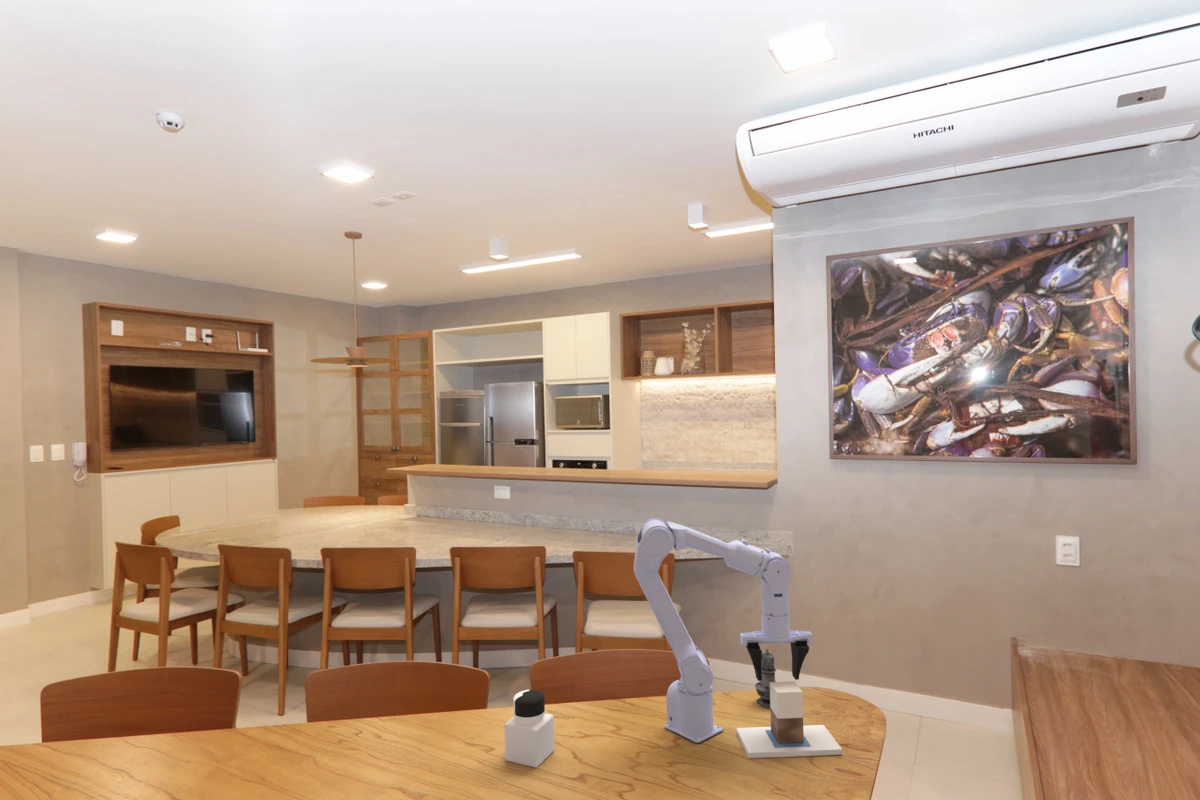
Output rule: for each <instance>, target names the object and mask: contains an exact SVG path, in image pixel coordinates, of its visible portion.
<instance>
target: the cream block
mask: <svg viewBox="0 0 1200 800" xmlns="http://www.w3.org/2000/svg"><path fill="white" fill-rule="evenodd" d="M803 695H804V694H803V690H802V689H801V688H800V687H799V685H798V684H797V683H796V681H795V680H794V681H793V680H791V681H776V682H770V707H771V709H772V711H773V712H774V714H775V715H776V717H777V718H778V719H781V718H803V719H804V705H803V704H804V700H803V699H804V697H803Z"/></svg>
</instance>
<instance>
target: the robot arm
mask: <svg viewBox="0 0 1200 800" xmlns="http://www.w3.org/2000/svg"><path fill="white" fill-rule="evenodd" d="M635 542H636V544H635V545H636V546H635V553H634V560H633V573H634V576H635V578H636V581H637V582H638V585H639V586H640V588H641V591H642V592H643V594H644V596H645V599H646V601H647V602H648V604H649V606H650V609H651V611H652V612H653V614H654V616H655V618H656V621H657V623H658V624H659V627H660V629H661V630H662V632H663V634H664V636H665V638H666V640H667V642H668V645H669V646H670V649H671V650H672V652H673V655H674V657H675V660H676V665H677V669H678V670H679V674H680V678H679V679H677V680H675V681H673V682H672V683H670V685H669V686H668V689H667V692H666V701H665V702H666V723H664V725H663V727H664V728H665V729H667V730H669V731H671V732H673V733H676V734H678V735H679V736H682V737H684V738H686V739H688V740H690V741H691V742H694V743H696V744H697V743H701V742H703V741H705V740H707V739H709V738H711V737H714V736H715V735H718V734H719V733H722V732H723V730H724V729H723V727H721V726H718V725H717V724H714V698H713V697H714V692H713V691H714V690H713V682H714V675H713V672H712V671H713V670H711V667H710V666H709V664H708V661H707V657H706V655H705V653H704V652H703V651H702V650H701V649H699V648H698V647H697V645H695V643H694V641H693V639H692V638H691V636H690V634H689V631H688V630H687V627H686V626H685V624H684V621H683V620H682V618H681V616H680V613H679V612H678V610H677V608H676V606H675V604H674V602H673V600H672V598H671V596H670V593H669V592H668V590H667V588H666V586H665V584H664V582H663V580H662V578H661V576H660V574H659V570H660V568H661V565H662V562H663V560H664V559H665V558H667V556H668V555H669V553H670V552H671V551H672V550H673V548H674V550H675V551H676V552H678V551H680V550H683V549H685V548H691V549H694V550H697V551H700V552H703V553H707V554H709V555H712V556H715V557H719V558H722V559H723V560H724V562H725V565H726V566H727V567H729V568H731V569H734V570H737V571H740V572H742V573H743V572H744V573H746V574H748V575H751V576H754V577H760V606H761V608H760V610H761V611H760V612H761V613H760V614H761V630H757V631H756V630H755V631H749V632H744V633H743V632H741V633H739V635H740V636H739V640H740V641H739V643H740V644H741V646H742V647H743V646H745V647H746V650H747V651H748V655H749V657H750V659H751V661H752V665H753V668H754V669H753V670H754V674H755V678H756V680H757V681H758V682H760V681H762V671H761V657H762V654H763V651H762V650H761V646H760V645H768V644H770V645H771V644H773V645H774V644H789V645H790V649H791V650H790V651H791V673H792V677H793V679H794V681H796V680H798V681H799V680H800V675H801V674H800V673H801V669H802V666H803V663H804V661H805V659H806V657H807V655H808V653H809V652H810V646H809V645H808V644H813V633H811V631H810V630H792V629H791V615H790V614H791V613H790V612H791V611H790V609H791V608H790V606H791V604H790V590H789V587H790V586H789V582H790V581H791V579H792V578H793V570H792V568H791V567H792V566H791V565H790V563H789V561H788V560H787V559H786V558H784V557H783V556H782V555H781V554H780V553H777V552H775V551H774V550H770V549H769V548H767V547H764V549H763V548H761V547H757V546H755V545H752V544H750V542H749V540H746V539H745V538H741V540H739V539H738V540H737V539H735V540H732V541H730V542H725V541H723V540H721V539H718V538H715V537H713V536H710V535H708V534H706V533H703V532H701V531H698V530H696V529H693V528H690V527H688V526H685V525H682V524H679V523H675V522H673V521H667V523H666V521H664V520H662V519H660V518H650V519H648V520H646V521H644V523H643V524H642V526H641V527H640V530H639V532H638V534H637V536H636V541H635Z"/></svg>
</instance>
